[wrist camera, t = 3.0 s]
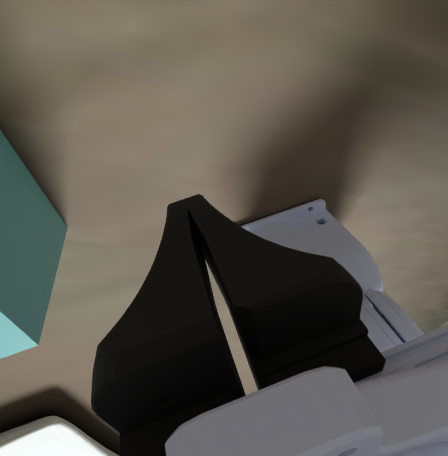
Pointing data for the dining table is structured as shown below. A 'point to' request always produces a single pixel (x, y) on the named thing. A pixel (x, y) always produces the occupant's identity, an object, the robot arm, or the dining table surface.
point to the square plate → (50, 440)
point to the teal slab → (25, 253)
